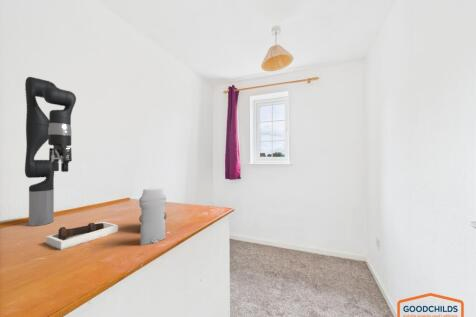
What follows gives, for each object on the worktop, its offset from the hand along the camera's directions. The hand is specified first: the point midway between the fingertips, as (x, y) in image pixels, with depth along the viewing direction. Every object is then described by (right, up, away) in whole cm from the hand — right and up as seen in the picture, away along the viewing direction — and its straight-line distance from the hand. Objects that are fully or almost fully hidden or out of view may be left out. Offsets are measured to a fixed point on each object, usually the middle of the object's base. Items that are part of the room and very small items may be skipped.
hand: (60, 171), depth 86 cm
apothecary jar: (+38, -28, +8) cm, 48 cm away
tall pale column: (+44, -28, -7) cm, 53 cm away
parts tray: (+13, -28, -2) cm, 31 cm away
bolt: (+12, -28, -2) cm, 30 cm away
